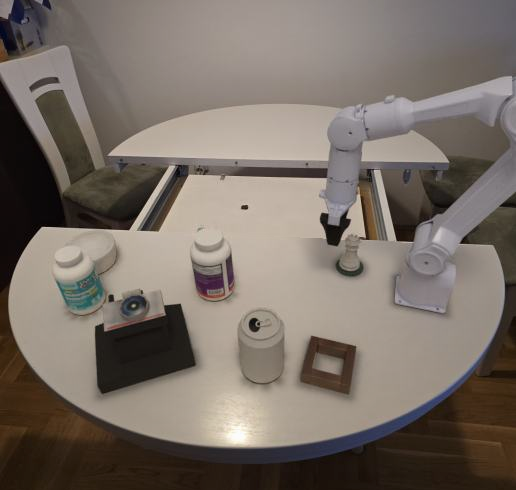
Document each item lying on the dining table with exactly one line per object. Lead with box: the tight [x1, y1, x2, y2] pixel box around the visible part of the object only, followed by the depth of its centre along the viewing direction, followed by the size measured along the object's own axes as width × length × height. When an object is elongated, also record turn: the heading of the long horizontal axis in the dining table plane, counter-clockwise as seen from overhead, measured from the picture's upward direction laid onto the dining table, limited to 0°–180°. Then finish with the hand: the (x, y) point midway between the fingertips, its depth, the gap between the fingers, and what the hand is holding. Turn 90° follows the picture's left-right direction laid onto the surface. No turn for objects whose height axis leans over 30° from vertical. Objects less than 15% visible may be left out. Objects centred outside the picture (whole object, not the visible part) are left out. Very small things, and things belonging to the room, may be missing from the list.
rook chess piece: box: [339, 233, 362, 271], centre depth 87 cm, size 4×4×8 cm
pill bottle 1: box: [51, 246, 106, 316], centre depth 79 cm, size 8×7×14 cm
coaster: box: [335, 258, 364, 277], centre depth 89 cm, size 6×6×1 cm
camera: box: [94, 288, 197, 395], centre depth 70 cm, size 16×14×15 cm
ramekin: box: [64, 229, 117, 275], centre depth 91 cm, size 11×11×5 cm
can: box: [237, 307, 285, 384], centre depth 66 cm, size 8×8×12 cm
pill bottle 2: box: [189, 226, 236, 302], centre depth 81 cm, size 8×8×14 cm
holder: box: [300, 335, 357, 395], centre depth 69 cm, size 8×8×2 cm
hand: (336, 233), depth 82 cm, fingers open, 7 cm apart
